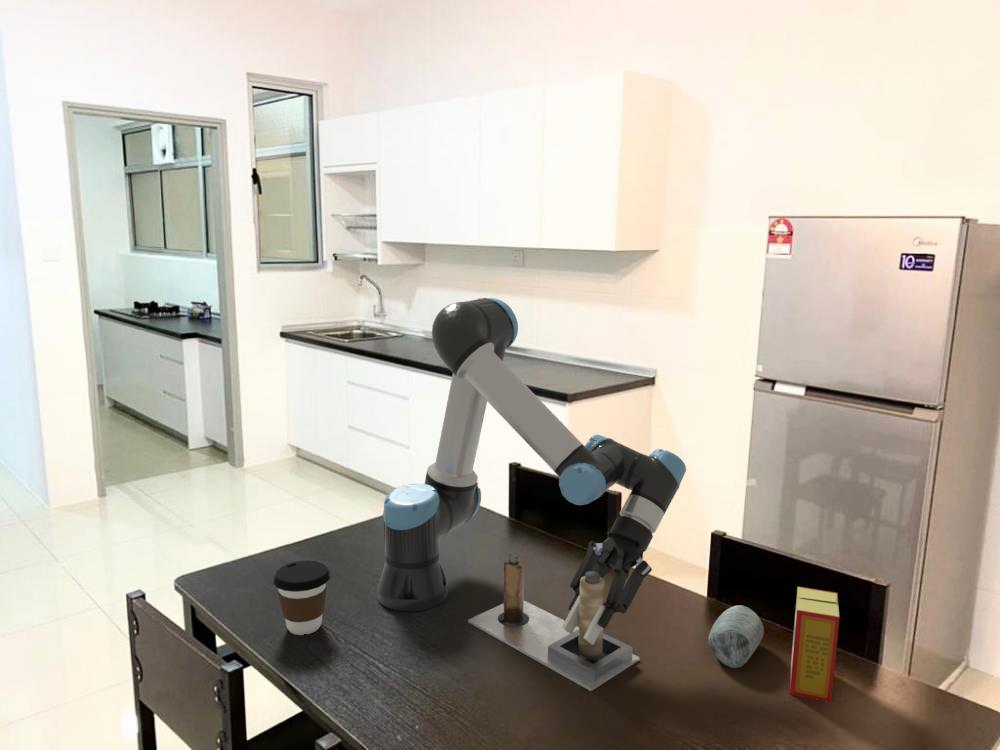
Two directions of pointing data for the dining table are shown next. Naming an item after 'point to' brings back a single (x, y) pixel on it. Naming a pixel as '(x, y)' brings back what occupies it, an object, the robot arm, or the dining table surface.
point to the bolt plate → (549, 635)
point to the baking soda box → (814, 643)
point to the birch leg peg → (590, 612)
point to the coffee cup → (302, 594)
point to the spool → (736, 636)
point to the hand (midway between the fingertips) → (577, 635)
